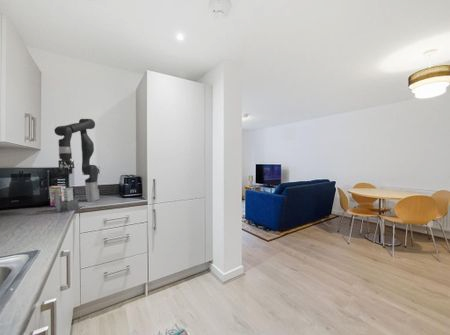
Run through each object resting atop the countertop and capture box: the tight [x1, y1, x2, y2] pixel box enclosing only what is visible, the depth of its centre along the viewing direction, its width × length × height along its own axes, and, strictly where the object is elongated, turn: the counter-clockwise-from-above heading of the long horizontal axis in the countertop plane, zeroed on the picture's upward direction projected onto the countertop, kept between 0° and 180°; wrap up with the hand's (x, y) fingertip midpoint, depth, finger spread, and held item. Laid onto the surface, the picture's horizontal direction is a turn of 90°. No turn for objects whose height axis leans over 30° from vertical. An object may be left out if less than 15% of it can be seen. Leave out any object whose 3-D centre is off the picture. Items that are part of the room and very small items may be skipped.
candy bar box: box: [48, 185, 67, 207], centre depth 164 cm, size 11×5×16 cm, turn 84°
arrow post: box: [54, 191, 62, 214], centre depth 146 cm, size 4×2×16 cm, turn 160°
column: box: [63, 186, 74, 202], centre depth 152 cm, size 5×4×16 cm
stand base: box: [53, 198, 86, 214], centre depth 153 cm, size 14×14×7 cm
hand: (66, 173), depth 151 cm, fingers open, 8 cm apart
